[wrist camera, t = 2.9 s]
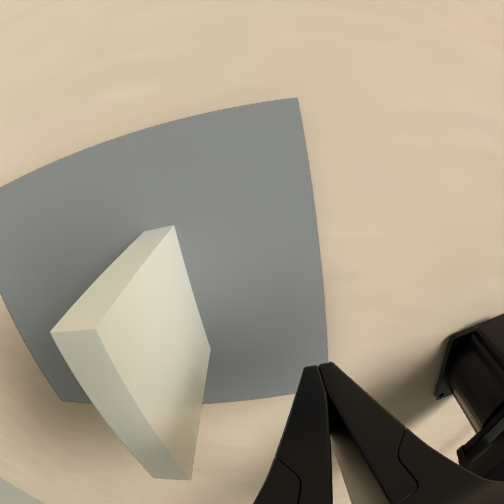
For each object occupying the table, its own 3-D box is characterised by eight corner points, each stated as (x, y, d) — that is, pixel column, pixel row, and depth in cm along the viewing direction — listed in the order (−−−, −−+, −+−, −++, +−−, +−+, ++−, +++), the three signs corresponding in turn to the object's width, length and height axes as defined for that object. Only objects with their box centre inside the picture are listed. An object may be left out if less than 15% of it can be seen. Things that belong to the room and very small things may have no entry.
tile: (210, 349, 16) (190, 479, 8) (183, 351, 16) (152, 477, 8) (174, 225, 13) (95, 329, 6) (143, 231, 13) (48, 331, 6)
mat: (327, 382, 17) (328, 387, 17) (63, 397, 19) (61, 400, 18) (296, 98, 12) (297, 97, 11) (-26, 202, 13) (-30, 204, 13)
